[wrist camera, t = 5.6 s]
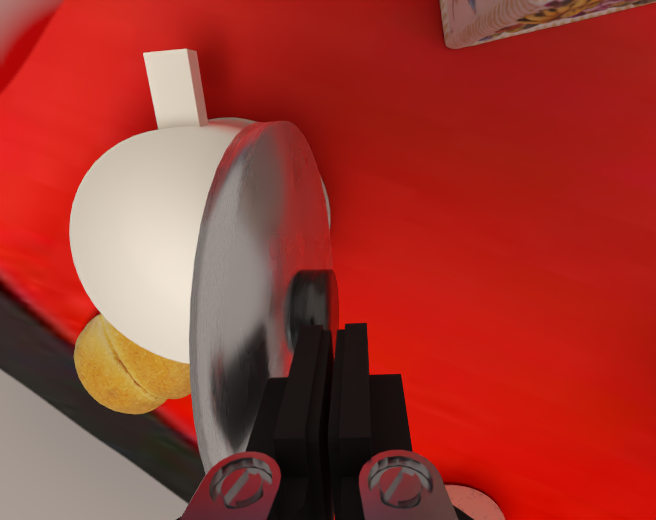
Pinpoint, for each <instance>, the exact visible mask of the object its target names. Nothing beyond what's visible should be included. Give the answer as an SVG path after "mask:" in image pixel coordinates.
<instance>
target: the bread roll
mask: <svg viewBox="0 0 656 520" xmlns="http://www.w3.org/2000/svg"><path fill="white" fill-rule="evenodd" d="M74 360H75V366H76V370H77V373H78V376H79V378H80V380H81V382H82V384H83V385H84V387H85V389H86V390H87V391H88V392H89V394H90V395H91V396H92V397H93V398H94V399H95V400H96V401H98V402H99V403H101V404H102V405H104V406H106V407H108V408H109V409H112V410H114V411H118V412H122V413H129V414H142V413H146V412H149V411H152V410H153V409H155V408H157V407H158V406H160V405H161V404H163V403H164V402H165V401H166V400H167V399H168V398H169V399H178V398H182V397H185V396H187V395H189V394H190V393H191V385H190V364H187V363H181V362H178V361H174V360H170V359H167V358H164V357H162V356H159V355H157V354H154V353H152V352H150V351H148V350H146V349H144V348H142V347H140V346H139V345H137V344H136V343H134V342H133V341H131V340H130V339H128V338H127V337H125V336H124V335H123V334H122V333H121V332H119V331H118V330H117V329H116V328H115V327H114V326H113V325H112V324H111V323H110V322H109V321H108V320H107V319H106V318H105V317H104V316H103V315H102V314H101V313H100V314H99V315H97V316H95V317H94V318H93V319H92V320H91V321H90V322H89V323H88V324H87V325H86V327H85V328H84V329H83V331H82V332H81V333H80V335H79V337H78V339H77V341H76V346H75V352H74Z"/></svg>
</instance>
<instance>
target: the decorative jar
mask: <svg viewBox="0 0 656 520" xmlns="http://www.w3.org/2000/svg"><path fill="white" fill-rule="evenodd" d="M439 1H440V9H441V17H442V25H443V32H444V39H445V44H446V46H447V47H448V48H451V49H459V48H463V47H468V46H473V45H478V44H482V43H486V42H490V41H494V40H498V39H502V38H506V37H510V36H516V35H520V34H524V33H529V32H533V31H536V30H541V29H546V28H550V27H556V26H560V25H565V24H568V23H571V22H576V21H580V20H585V19H589V18H594V17H598V16H601V15H605V14H609V13H613V12H617V11H622V10H626V9H630V8H634V7H639V6H642V5H647V4H651V3H655V2H656V0H439Z"/></svg>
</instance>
